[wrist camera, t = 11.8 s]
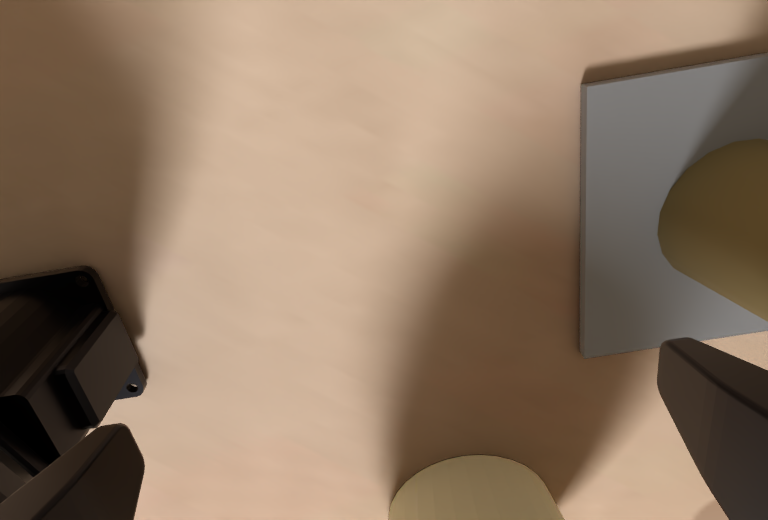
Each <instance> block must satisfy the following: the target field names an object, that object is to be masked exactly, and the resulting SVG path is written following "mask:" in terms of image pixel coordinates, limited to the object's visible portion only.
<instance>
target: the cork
mask: <svg viewBox="0 0 768 520" xmlns="http://www.w3.org/2000/svg"><path fill="white" fill-rule="evenodd" d="M657 235H658V239H659V243H660V247H661V251H662V254H663V255H664V257H665V258H666V259H667V260H668V262H669V263H670V264H671V266H672V267H673V268H674V269H676V270H678V271H679V272H681V273H683V274H685V275H686V276H688V277H690V278H692V279H693V280H695V281H697V282H699V283H700V284H702V285H704V286H706V287H707V288H709V289H711V290H713V291H714V292H716V293H718V294H720V295H722V296H723V297H725V298H727V299H729V300H730V301H732V302H734V303H736V304H737V305H739V306H741V307H743V308H744V309H746V310H748V311H750V312H751V313H753V314H755V315H757V316H758V317H760V318H762V319H764V320H766V321H767V322H768V140H764V139H760V138H759V139H751V140H744V141H736V142H732V143H730V144H728V145H725V146H723V147H721V148H718V149H716V150H714V151H711V152H709V153H708V154H706V155H705V156H704V157H702V158H701V159H700V160H698V161H697V162H696V163H694V164H693V165H692V166H690V167H689V168H688V169H687V170H686V171H685V172H684V173H683V175H682V176H681V177H680V178H679V179H678V181H677V182H676V183H675V184H674V186H673V187H672V188H671V189H670V191H669V193H668V196H667V198H666V200H665V202H664V204H663V207H662V209H661V211H660V216H659V224H658V233H657Z"/></svg>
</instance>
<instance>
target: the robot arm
mask: <svg viewBox="0 0 768 520" xmlns="http://www.w3.org/2000/svg"><path fill="white" fill-rule="evenodd" d="M80 276H84V277H86V278H87V279H88V282H85V281H83V280H82V279H81V278H80ZM138 360H139V359H138V356H137V354H136V352H135V349H134V347H133V345H132V343H131V340H130V338H129V336H128V334H127V332H126V329H125V327H124V325H123V323H122V320H121V318H120V316H119V314H118V313H117V312H116V311H115V310H114V308H113V306H112V304H111V302H110V299H109V297H108V295H107V293H106V290H105V288H104V286H103V284H102V282H101V279H100V277H99V275H98V273H97V272H96V271H95V270H94V269H92V268H91V267H88V266H79V267H72V268H66V269H60V270H54V271H48V272H42V273H36V274H30V275H24V276H18V277H12V278H6V279H0V520H134V516H135V511H136V507H137V502H138V498H139V493H140V489H141V484H142V480H143V475H144V468H145V465H144V459H143V456H142V454H141V452H140V450H139V448H138V446H137V443H136V441H135V439H134V437H133V435H132V433H131V431H130V429H129V428H128V427H127V426H126V425H125V424H122V423H118V424H111V425H105V426H100V427H98V426H99V425H100V423H101V421H102V420H103V418H104V416H105V415H106V413H107V412H108V410H109V408H110V407H111V405H112V403H113V402H114V400H118V399H124V398H131V397H137V396H140V395H141V394H142V393H143V391H144V389H145V388H146V385H147V382H146V379H145V377H144V375H143V372H142V370H141V368H140V366H139V364H138ZM130 383H131V384H135V385H136V386H137V387H134V386H132V385H131V384H130ZM657 385H658V390H659V392H660V395H661V397H662V399H663V401H664V403H665V405H666V407H667V409H668V411H669V413H670V415H671V417H672V419H673V421H674V423H675V425H676V427H677V429H678V431H679V433H680V435H681V437H682V439H683V441H684V443H685V445H686V447H687V449H688V451H689V453H690V455H691V457H692V458H693V460H694V462H695V464H696V466H697V468H698V470H699V472H700V474H701V476H702V477H703V479H704V481H705V482H706V484H707V486H708V487H709V489H710V491H711V492H712V494H713V495H714V497H715V498H716V500H717V501H718V503H719V505H720V506H721V508H722V509H723V511H724V512H725V514H726V515H727V517H728V518H729V520H768V371H767V370H765V369H763V368H760V367H758V366H756V365H753V364H751V363H749V362H746V361H744V360H742V359H739V358H737V357H735V356H732V355H730V354H728V353H725V352H723V351H721V350H718V349H716V348H714V347H711V346H709V345H707V344H704V343H702V342H700V341H697V340H695V339H693V338H689V337H683V338H676V339H670V340H665V341H664V342H663V343H662V344H661V346H660V352H659V363H658V374H657ZM97 427H98V428H97ZM93 428H96V429H95V430H94V431H92V432H91V433H90V434H89V435H87V436H86V434H87V433H88V431H89V429H93ZM85 436H86V437H85ZM84 437H85V438H84Z"/></svg>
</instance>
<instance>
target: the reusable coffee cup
mask: <svg viewBox="0 0 768 520" xmlns="http://www.w3.org/2000/svg"><path fill="white" fill-rule="evenodd" d="M388 520H564V518H563V516H562V514H561V512H560V511H559V509H558V507H557V505H556V503H555V502H554V500H553V498H552V496H551V494H550V493H549V491H548V489H547V487H546V485H545V483H544V482H543V481H542V480H541V479H540V477H539V476H538V475H537V474H536V473H535V472H533V471H532V470H531V469H529V468H528V467H526V466H525V465H522V464H520V463H518V462H516V461H513V460H511V459H506V458H502V457H498V456H489V455H470V456H461V457H456V458H451V459H447V460H444V461H441V462H438V463H436V464H433V465H431V466H429V467H427V468H425V469H423V470H422V471H420V472H418V473H416V474H415V475H414V476H413V477H412V478H410V479H409V480H408V481H407V482H405V484H404V485H403V486H402V487H401V488H400V490H399V491H398V492H397V493H396V495H395V497H394V499H393V501H392V503H391V507H390V512H389V518H388Z"/></svg>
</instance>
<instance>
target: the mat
mask: <svg viewBox="0 0 768 520" xmlns="http://www.w3.org/2000/svg"><path fill="white" fill-rule="evenodd" d="M759 138H760V139H764V140H768V53H762V54H756V55H750V56H744V57H739V58H733V59H727V60H721V61H715V62H709V63H703V64H697V65H692V66H686V67H680V68H674V69H668V70H662V71H656V72H651V73H645V74H639V75H633V76H627V77H621V78H615V79H610V80H604V81H598V82H592V83H586V84H581V154H580V352H581V354H582V356H583V357H584V359H587V358H593V357H600V356H606V355H613V354H619V353H626V352H632V351H639V350H645V349H652V348H658V347H660V346H661V344H662V343H663V342H664V341H665V340H670V339H676V338H683V337H689V338H693V339H695V340H697V341H704V340H710V339H717V338H723V337H730V336H736V335H743V334H749V333H756V332H762V331H768V322H767V321H766V320H764V319H762V318H760V317H758V316H757V315H755V314H753V313H751V312H750V311H748V310H746V309H744V308H743V307H741V306H739V305H737V304H736V303H734V302H732V301H730V300H729V299H727V298H725V297H723V296H722V295H720V294H718V293H716V292H714V291H713V290H711V289H709V288H707V287H706V286H704V285H702V284H700V283H699V282H697V281H695V280H693V279H692V278H690V277H688V276H686V275H685V274H683V273H681V272H679V271H678V270H676V269H674V268H673V267H672V266H671V264H670V263H669V262H668V260H667V259H666V258H665V257H664V255H663V254H662V251H661V247H660V243H659V239H658V235H657V233H658V224H659V216H660V211H661V209H662V207H663V204H664V202H665V200H666V198H667V196H668V193H669V191H670V189H671V188H672V187H673V186H674V184H675V183H676V182H677V181H678V179H679V178H680V177H681V176H682V175H683V173H684V172H685V171H686V170H687V169H688V168H689V167H690V166H692V165H693V164H694V163H696V162H697V161H698V160H700V159H701V158H702V157H704V156H705V155H706V154H708V153H709V152H711V151H714V150H716V149H718V148H721V147H723V146H725V145H728V144H730V143H732V142H736V141H744V140H751V139H759Z"/></svg>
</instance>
